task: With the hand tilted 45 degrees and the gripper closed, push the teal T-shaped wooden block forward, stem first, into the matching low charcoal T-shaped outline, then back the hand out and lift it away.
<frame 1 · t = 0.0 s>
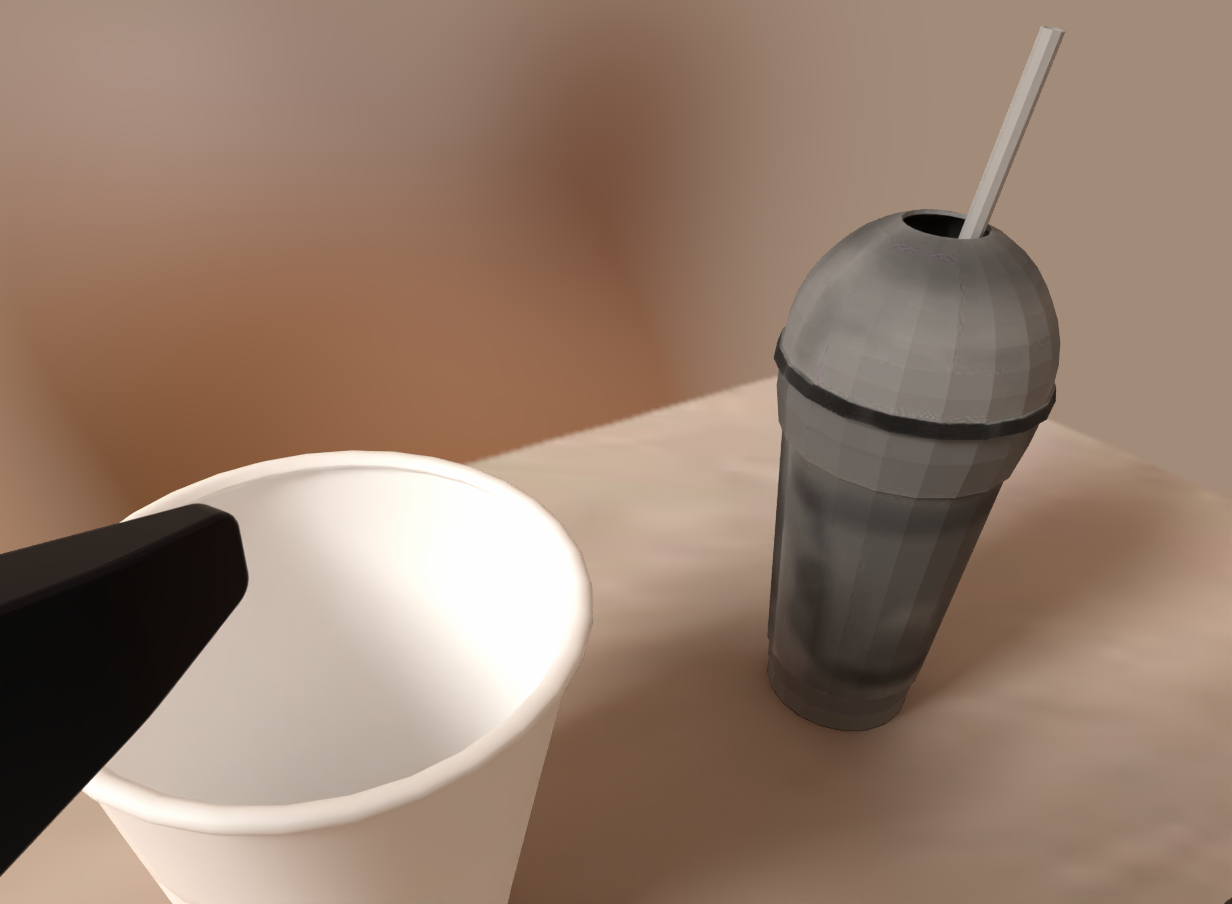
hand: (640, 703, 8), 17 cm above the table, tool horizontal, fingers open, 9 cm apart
beverage cup: (834, 681, 32), on the table
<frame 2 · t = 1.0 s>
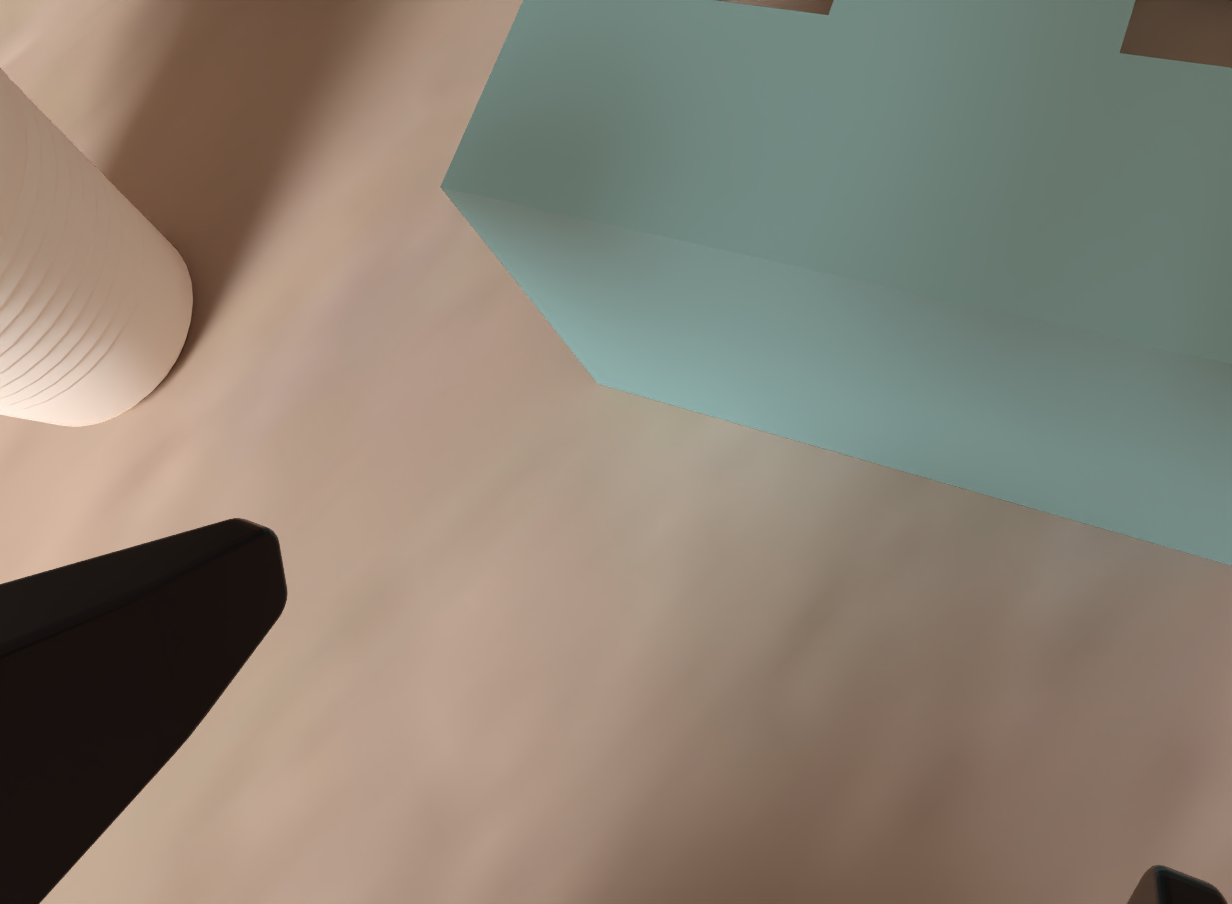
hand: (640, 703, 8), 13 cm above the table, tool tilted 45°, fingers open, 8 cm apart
t block: (972, 188, 22), on the table
cup: (116, 333, 28), on the table
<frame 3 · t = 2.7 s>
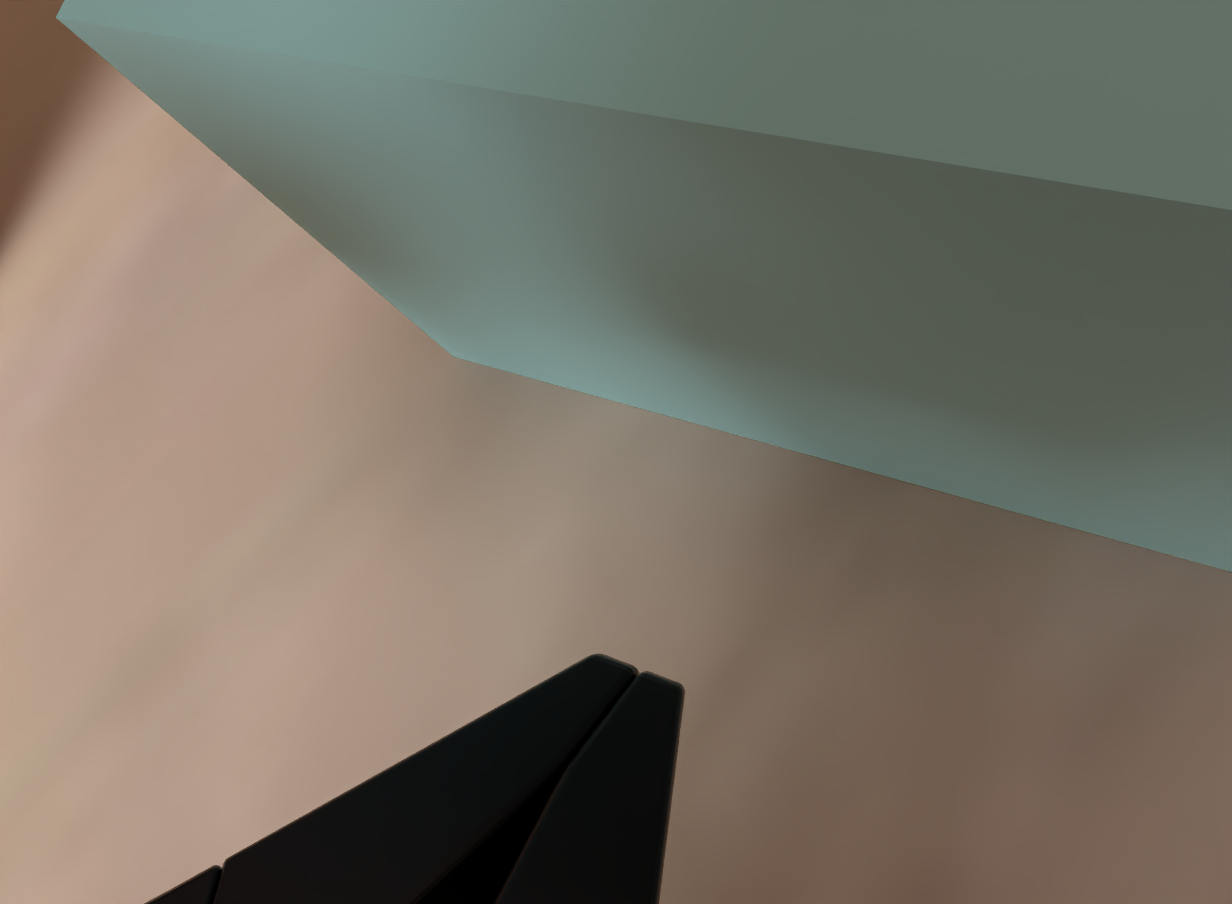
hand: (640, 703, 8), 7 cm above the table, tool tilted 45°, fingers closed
t block: (950, 80, 16), on the table
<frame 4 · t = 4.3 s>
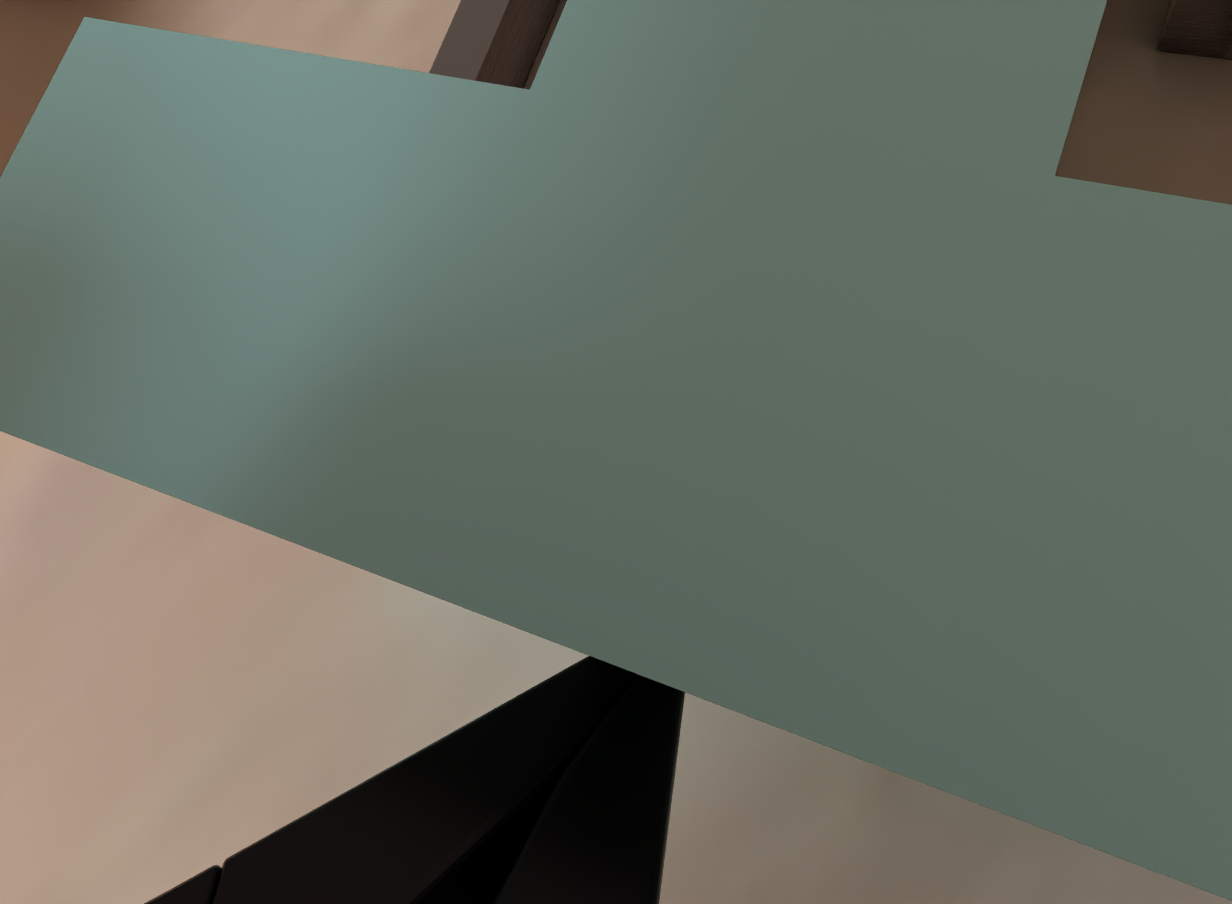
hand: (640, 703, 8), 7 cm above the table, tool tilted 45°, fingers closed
t block: (885, 291, 16), on the table
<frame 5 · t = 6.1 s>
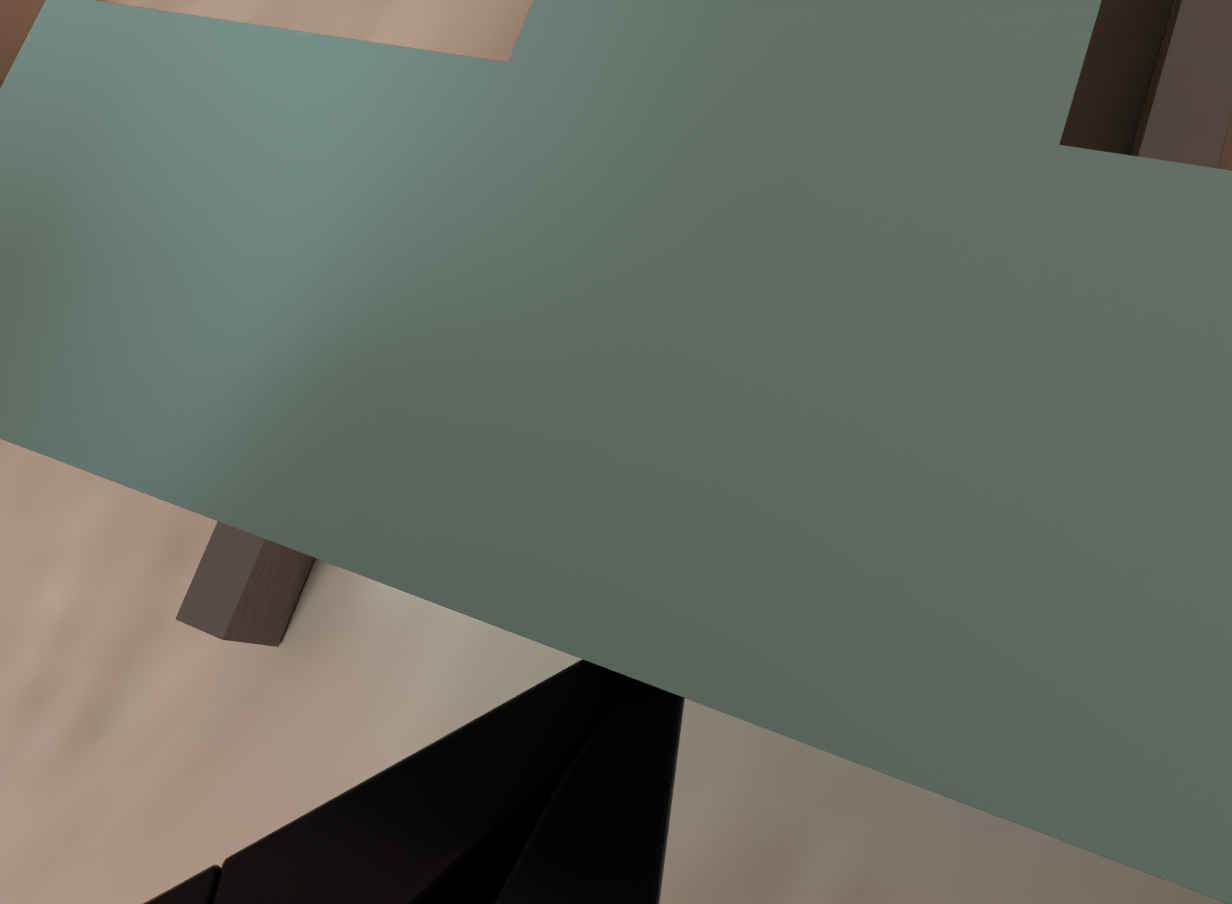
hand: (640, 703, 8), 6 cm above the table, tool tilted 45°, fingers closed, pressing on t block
t block: (884, 275, 16), on the table, touching gripper
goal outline: (885, 279, 15), on the table
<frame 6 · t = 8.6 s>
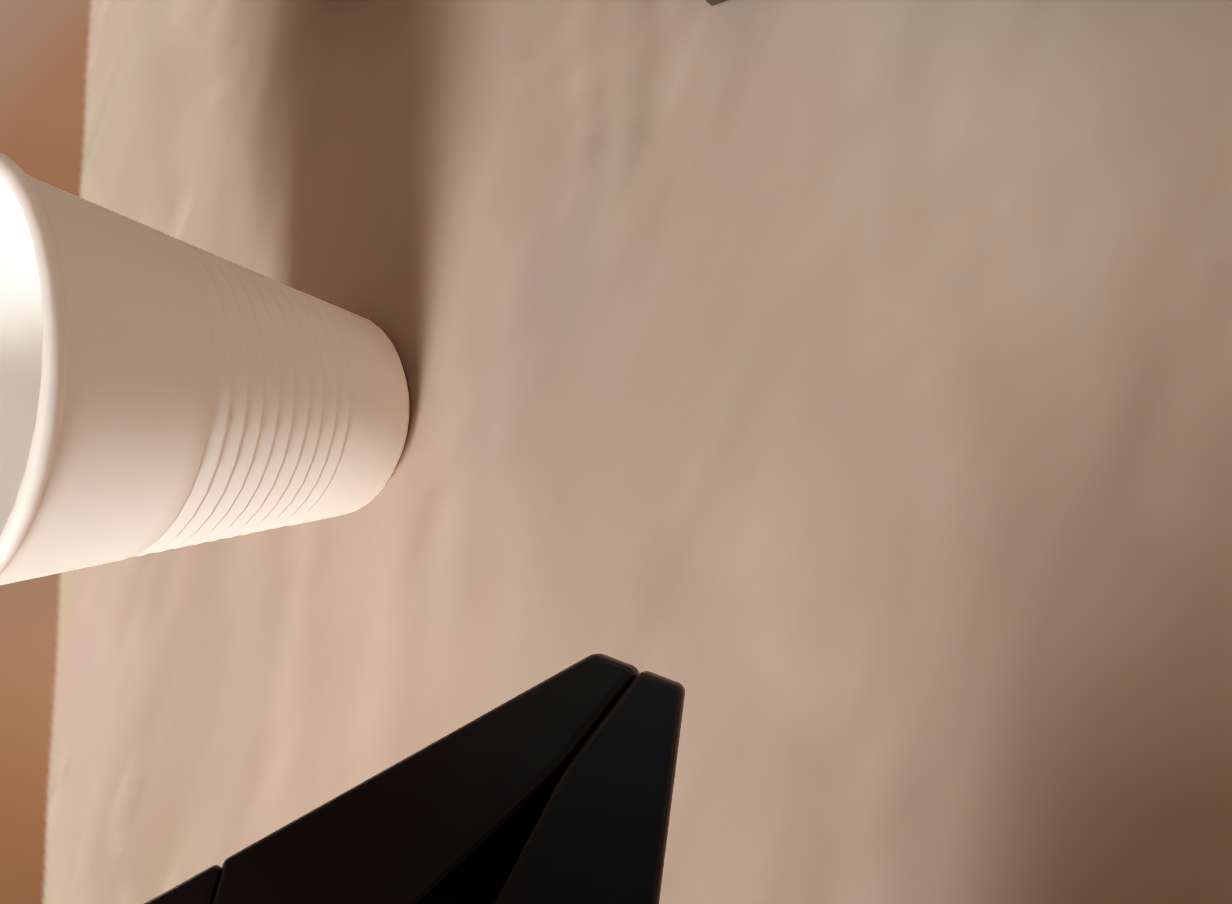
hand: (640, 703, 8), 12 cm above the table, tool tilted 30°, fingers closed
cup: (354, 416, 30), on the table
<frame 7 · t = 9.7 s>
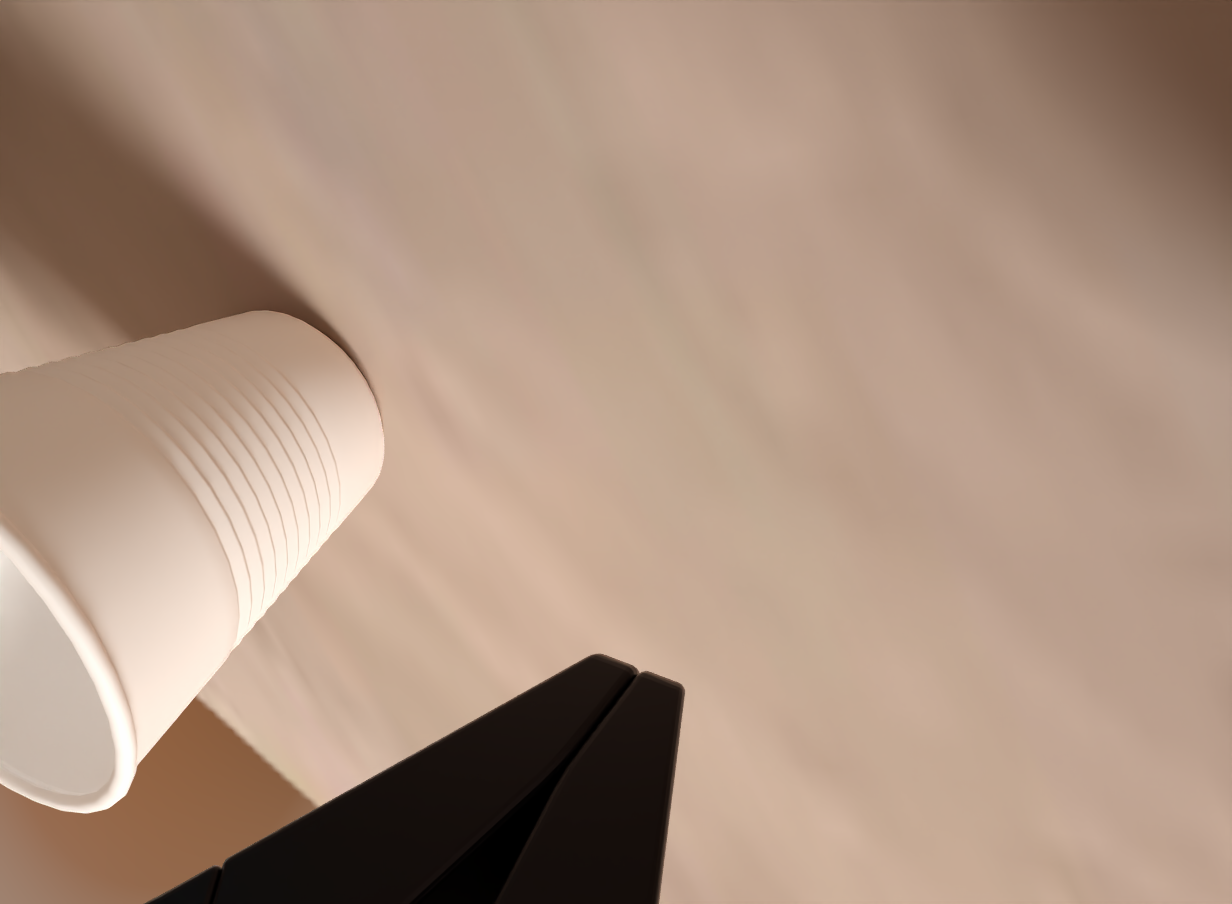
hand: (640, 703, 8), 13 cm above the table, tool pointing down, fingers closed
cup: (311, 401, 28), on the table
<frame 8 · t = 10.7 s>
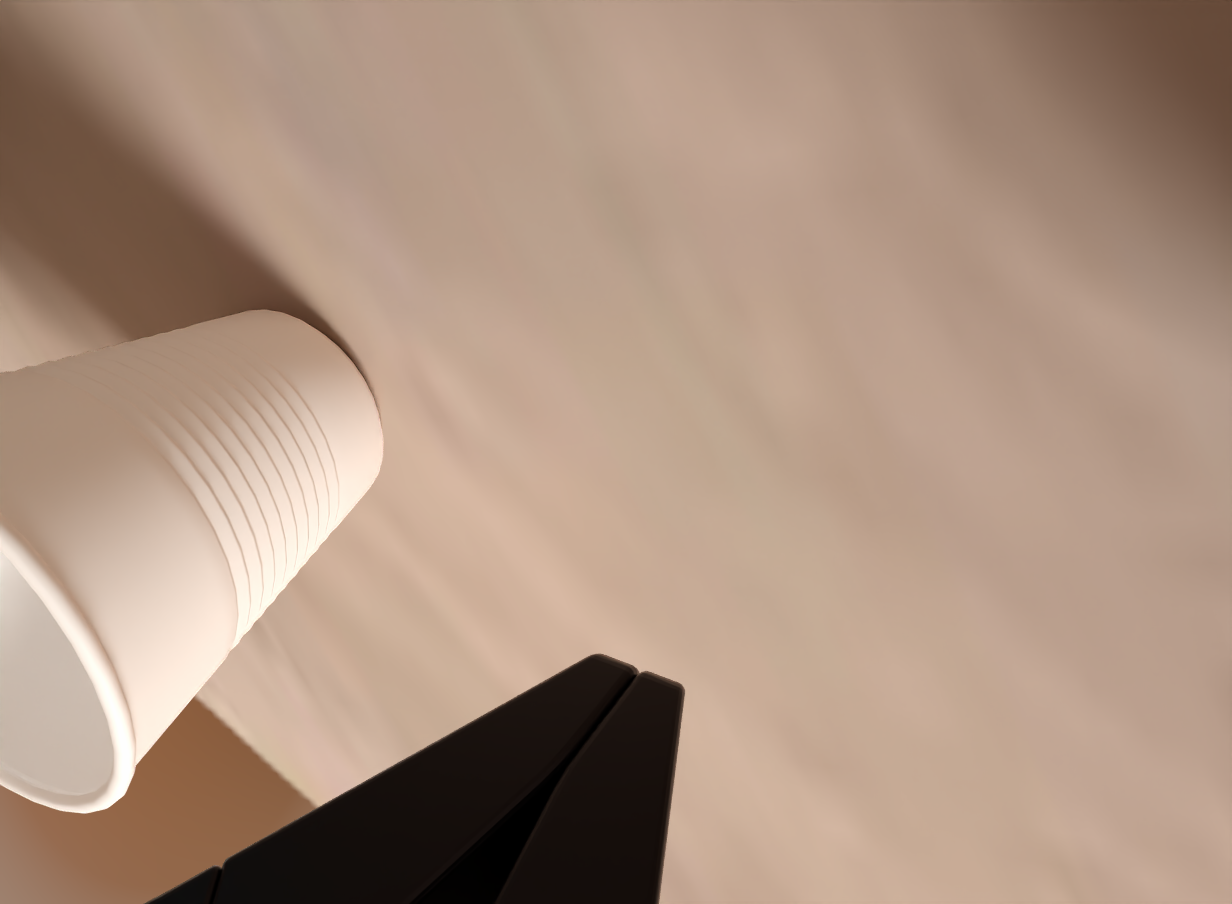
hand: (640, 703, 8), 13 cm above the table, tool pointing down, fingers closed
cup: (310, 401, 28), on the table
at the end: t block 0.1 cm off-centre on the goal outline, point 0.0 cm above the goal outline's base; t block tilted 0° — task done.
